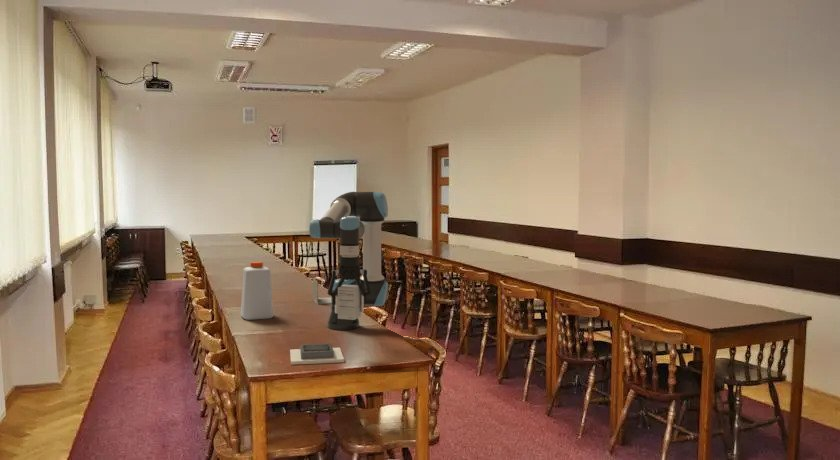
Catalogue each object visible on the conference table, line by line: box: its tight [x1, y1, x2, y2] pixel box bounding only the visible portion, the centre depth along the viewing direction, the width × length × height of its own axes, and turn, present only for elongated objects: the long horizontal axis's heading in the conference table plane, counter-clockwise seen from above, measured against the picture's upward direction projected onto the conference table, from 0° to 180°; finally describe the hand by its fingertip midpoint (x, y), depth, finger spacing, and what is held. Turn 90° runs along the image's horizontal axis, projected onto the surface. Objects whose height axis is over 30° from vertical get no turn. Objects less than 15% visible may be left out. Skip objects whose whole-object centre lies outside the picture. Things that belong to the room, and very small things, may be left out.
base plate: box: [289, 347, 345, 366], centre depth 255 cm, size 18×20×1 cm
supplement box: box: [338, 285, 362, 320], centre depth 257 cm, size 7×7×13 cm
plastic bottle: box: [240, 261, 274, 321], centre depth 329 cm, size 15×15×28 cm
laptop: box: [312, 277, 331, 305], centre depth 376 cm, size 18×12×13 cm
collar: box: [299, 343, 334, 359], centre depth 255 cm, size 12×12×2 cm
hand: (349, 312), depth 257 cm, fingers closed on supplement box, 10 cm apart
